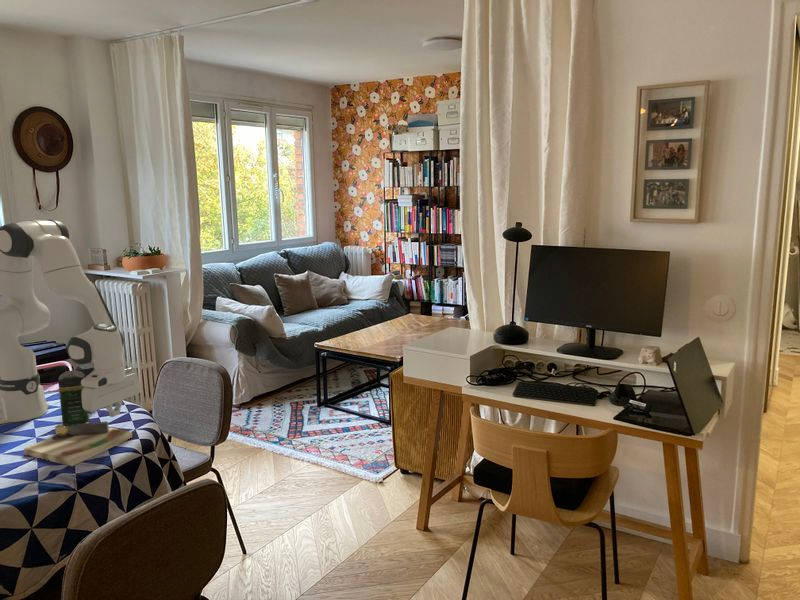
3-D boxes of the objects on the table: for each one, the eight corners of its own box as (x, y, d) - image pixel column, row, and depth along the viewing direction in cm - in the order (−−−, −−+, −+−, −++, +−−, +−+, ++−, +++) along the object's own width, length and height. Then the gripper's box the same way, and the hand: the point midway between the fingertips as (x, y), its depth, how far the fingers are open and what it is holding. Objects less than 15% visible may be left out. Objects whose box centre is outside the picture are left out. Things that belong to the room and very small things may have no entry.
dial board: (24, 454, 187) (23, 447, 187) (87, 428, 207) (86, 421, 206) (72, 466, 179) (71, 459, 179) (132, 437, 199) (131, 431, 198)
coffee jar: (89, 429, 206) (83, 375, 202) (62, 433, 203) (56, 378, 199) (90, 419, 215) (84, 367, 211) (64, 423, 211) (58, 370, 208)
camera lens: (97, 400, 233) (93, 361, 231) (107, 404, 228) (103, 365, 225) (75, 406, 227) (70, 366, 224) (85, 411, 222) (80, 370, 219)
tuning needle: (54, 438, 193) (53, 428, 192) (58, 433, 197) (57, 424, 196) (106, 433, 196) (105, 424, 195) (109, 429, 199) (108, 420, 199)
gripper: (128, 364, 210) (133, 403, 213) (76, 382, 192) (81, 425, 195) (142, 366, 208) (146, 406, 210) (90, 384, 190) (95, 427, 192)
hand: (115, 415), depth 202 cm, fingers closed
